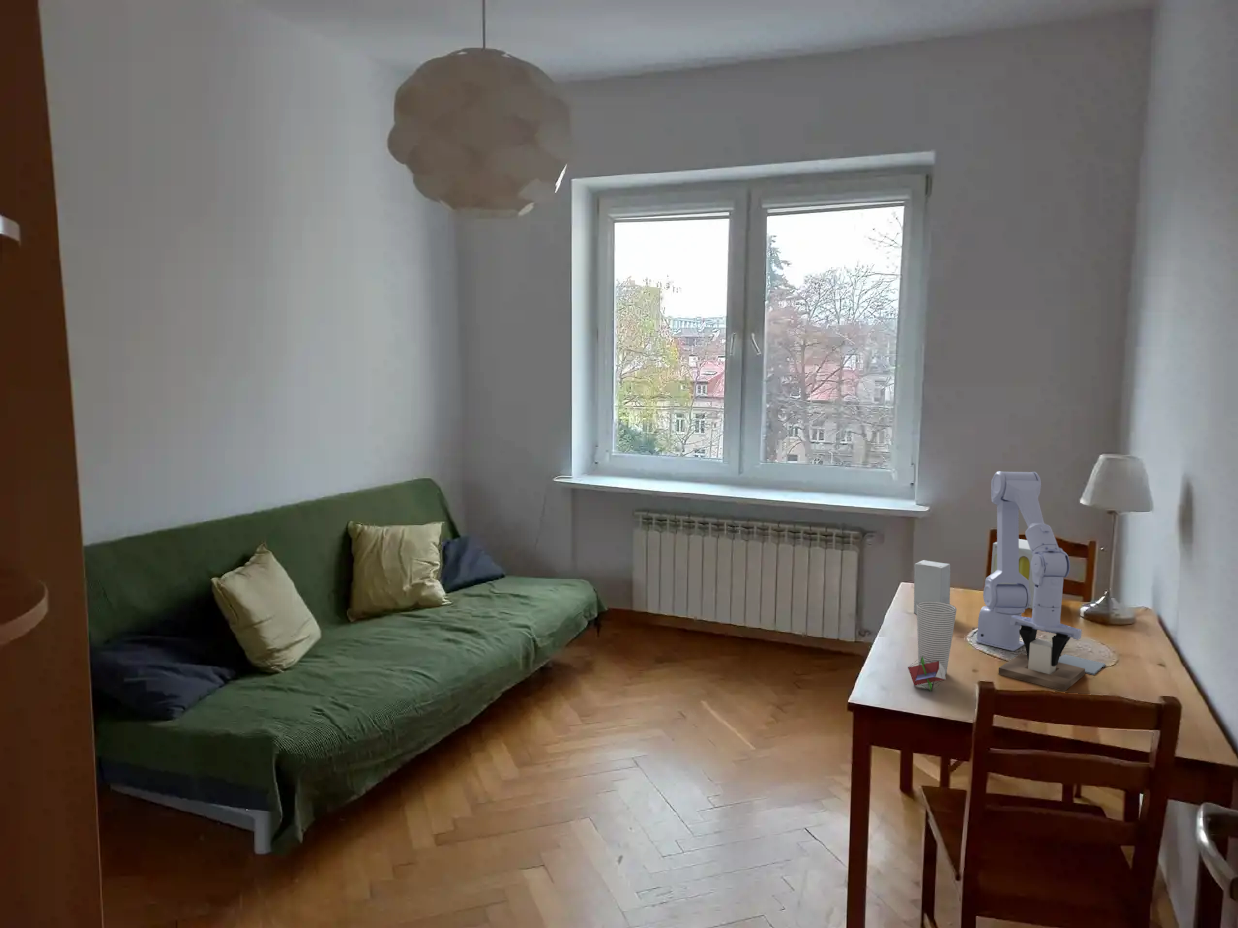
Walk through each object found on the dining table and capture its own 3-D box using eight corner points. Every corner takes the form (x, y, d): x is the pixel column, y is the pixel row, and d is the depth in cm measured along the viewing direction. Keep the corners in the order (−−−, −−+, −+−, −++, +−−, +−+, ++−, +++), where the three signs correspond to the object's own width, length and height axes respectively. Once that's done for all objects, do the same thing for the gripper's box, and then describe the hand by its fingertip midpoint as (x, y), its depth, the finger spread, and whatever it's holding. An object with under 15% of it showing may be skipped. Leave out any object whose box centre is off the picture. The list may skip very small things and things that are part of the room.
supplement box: (987, 599, 254) (991, 542, 252) (1005, 591, 263) (1009, 536, 261) (1034, 609, 244) (1038, 550, 242) (1050, 601, 254) (1054, 543, 252)
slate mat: (1051, 664, 200) (1051, 662, 200) (1064, 655, 206) (1064, 653, 206) (1093, 674, 193) (1093, 673, 193) (1105, 665, 200) (1105, 663, 200)
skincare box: (949, 615, 237) (953, 564, 235) (939, 620, 233) (943, 567, 231) (921, 609, 243) (924, 558, 241) (911, 613, 239) (914, 561, 237)
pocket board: (998, 673, 193) (998, 667, 193) (1020, 659, 203) (1021, 653, 203) (1064, 691, 183) (1065, 684, 183) (1084, 674, 193) (1085, 668, 193)
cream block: (1027, 674, 193) (1030, 642, 192) (1034, 669, 196) (1037, 638, 195) (1048, 679, 190) (1051, 647, 189) (1055, 674, 193) (1057, 642, 192)
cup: (931, 681, 188) (935, 613, 186) (904, 668, 196) (908, 603, 194) (960, 675, 191) (965, 609, 190) (932, 663, 199) (937, 599, 197)
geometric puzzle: (899, 679, 183) (924, 654, 180) (902, 668, 189) (926, 644, 187) (926, 702, 181) (952, 678, 179) (928, 691, 188) (953, 667, 185)
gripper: (1007, 600, 193) (1003, 658, 195) (1076, 614, 183) (1071, 675, 185) (1018, 595, 198) (1014, 650, 200) (1086, 608, 188) (1081, 667, 190)
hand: (1042, 662), depth 193 cm, fingers closed on cream block, 4 cm apart
